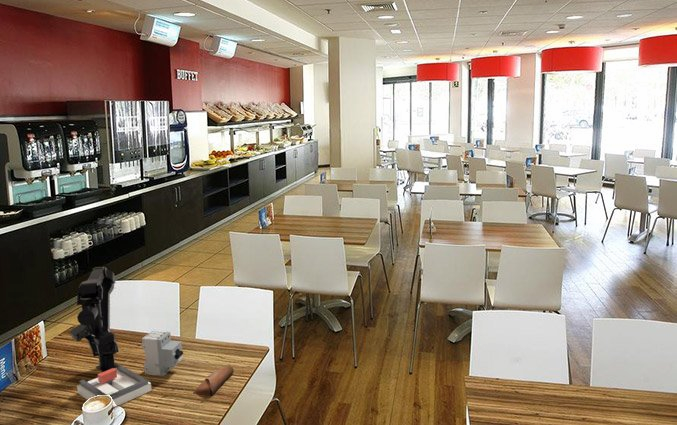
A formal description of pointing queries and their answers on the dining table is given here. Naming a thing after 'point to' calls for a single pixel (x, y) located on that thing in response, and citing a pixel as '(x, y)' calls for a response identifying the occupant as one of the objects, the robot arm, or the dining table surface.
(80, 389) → the switch panel
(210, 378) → the sunglasses case
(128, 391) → the grey frame
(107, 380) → the lever
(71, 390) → the dining table surface
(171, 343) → the circuit breaker
